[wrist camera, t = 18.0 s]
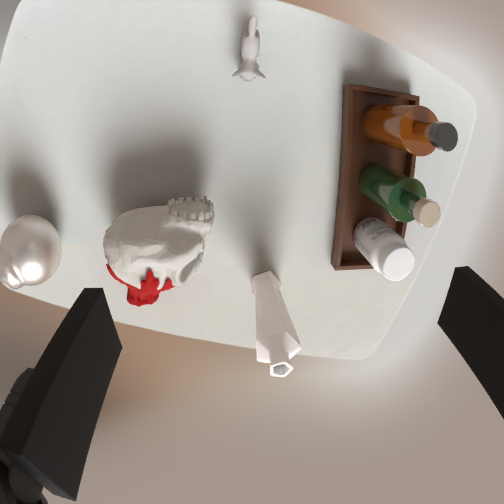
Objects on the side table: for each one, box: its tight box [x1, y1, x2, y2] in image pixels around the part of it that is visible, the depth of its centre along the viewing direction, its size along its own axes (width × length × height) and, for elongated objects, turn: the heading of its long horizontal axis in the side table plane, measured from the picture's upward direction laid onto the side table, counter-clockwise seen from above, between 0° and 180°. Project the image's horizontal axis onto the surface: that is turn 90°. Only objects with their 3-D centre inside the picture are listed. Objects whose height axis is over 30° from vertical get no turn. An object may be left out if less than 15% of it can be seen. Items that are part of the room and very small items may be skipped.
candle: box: [103, 196, 214, 306], centre depth 33 cm, size 9×11×15 cm
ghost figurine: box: [0, 215, 61, 289], centre depth 31 cm, size 9×10×10 cm
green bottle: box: [358, 162, 440, 227], centre depth 29 cm, size 5×5×12 cm
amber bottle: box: [362, 104, 458, 156], centre depth 26 cm, size 5×5×13 cm
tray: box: [331, 84, 419, 270], centre depth 34 cm, size 22×9×2 cm, turn 0°
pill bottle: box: [353, 217, 415, 281], centre depth 34 cm, size 5×5×8 cm
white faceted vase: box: [252, 271, 301, 377], centre depth 34 cm, size 5×4×15 cm
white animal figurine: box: [232, 16, 265, 82], centre depth 26 cm, size 3×8×6 cm
